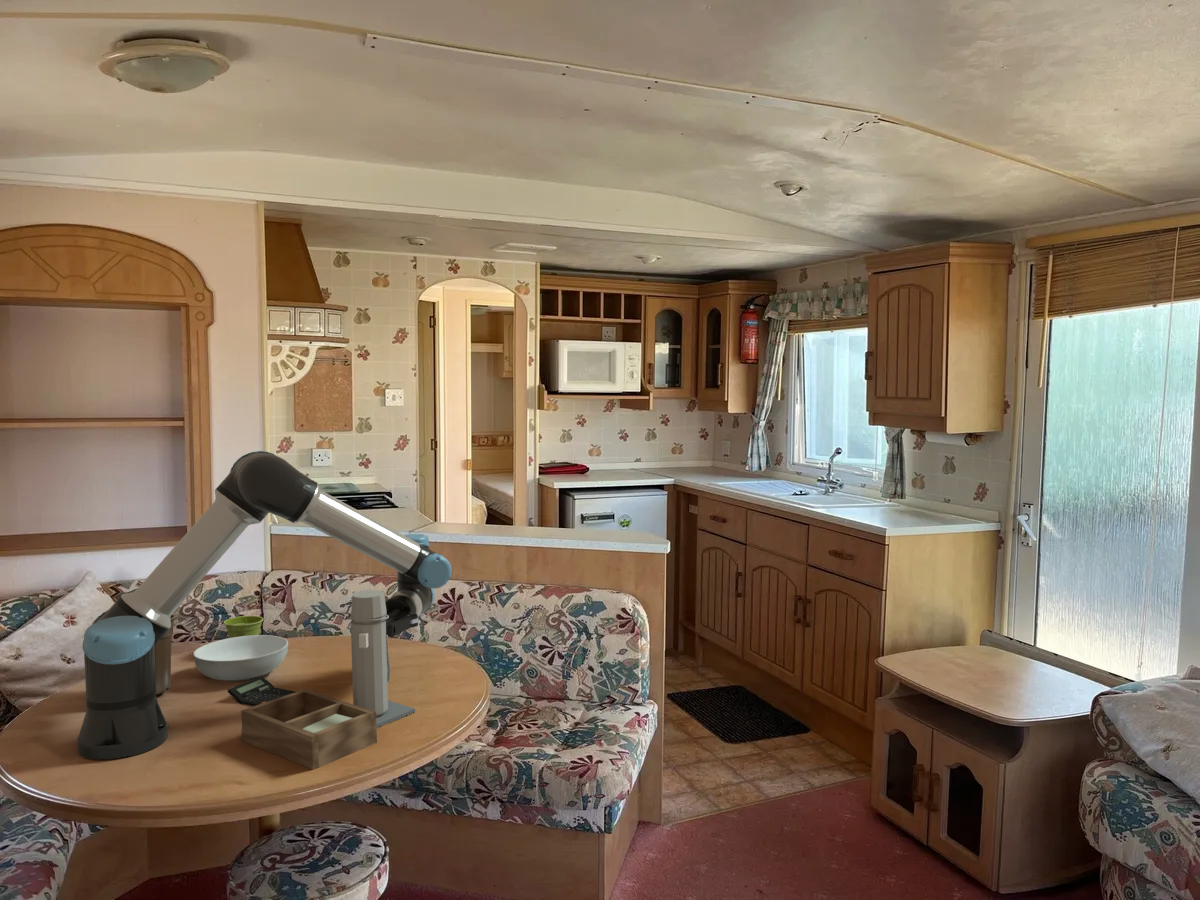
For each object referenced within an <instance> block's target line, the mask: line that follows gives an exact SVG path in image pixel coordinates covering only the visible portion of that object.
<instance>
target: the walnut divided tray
mask: <svg viewBox="0 0 1200 900" xmlns="http://www.w3.org/2000/svg"><path fill="white" fill-rule="evenodd" d="M240 712H241V740H242V742H244V743H246V742H247V743H246V744H249V745H251V744H252V746H254V747H256V746H257V747H256V748H259V749H262V750H264V751H267V752H269V753H271V754H273V755H276V756H279V757H281V758H284V759H286V760H288V761H291V762H293V763H296V764H298V765H301V766H302V767H306V768H308V769H311V770H313V771H314V770H315V769H318V768H321V767H322V766H325V765H327V764H330V763H333V762H335V761H337V760H339V759H341V758H344V757H346V756H348V755H351V754H353V753H355V752H358V751H360V750H362V749H364V748H367V747H369V746H373V745H374V744H377V743H378V736H377V735H378V734H377V733H378V731H377V730H378V728H377V723H376V712H375V711H372V710H369V709H366V708H363V707H359V706H356V705H353V703H350V702H348V701H347V702H346V701H343V700H341V699H337V698H336V697H335V698H334V697H332V696H328V695H325V694H321V693H319V692H316V691H314V690H313V691H312V690H309V689H306V688H304V689H302V690H298V691H296V692H295V693H292V694H289V695H286V696H283V697H280V698H277V699H274V700H271V701H268V702H265V703H262V704H259V705H256V706H250V707H247V708H245V709H242V710H241V711H240ZM334 714H339V715H343V716H347V717H351V718H352V719H349V720H346V721H344V722H341V723H339V724H336V725H334V726H331V727H328V728H326V729H323V730H321V731H318V732H315V733H312V732H309V731H306V730H304V729H303V728H305V727H307V726H310V725H312V724H314V723H316V722H319V721H321V720H323V719H325V718H328V717H330V716H332V715H334Z"/></svg>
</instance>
